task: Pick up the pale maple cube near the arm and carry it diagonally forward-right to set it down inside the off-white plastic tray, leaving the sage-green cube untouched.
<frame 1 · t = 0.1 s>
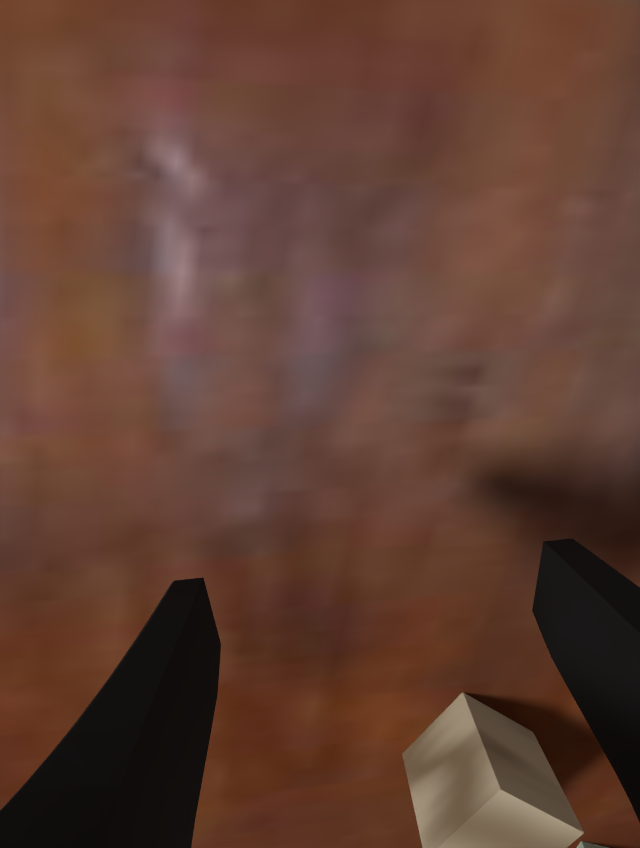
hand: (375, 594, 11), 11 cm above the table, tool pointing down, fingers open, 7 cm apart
maple cube: (467, 741, 27), on the table
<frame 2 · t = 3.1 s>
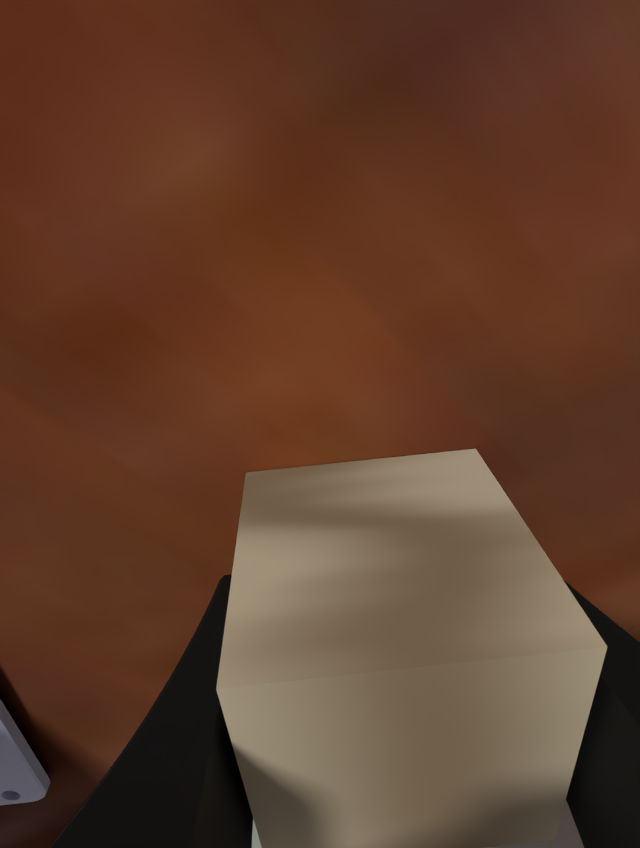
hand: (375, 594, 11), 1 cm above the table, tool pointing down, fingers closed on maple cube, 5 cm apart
maple cube: (365, 548, 12), on the table, touching gripper
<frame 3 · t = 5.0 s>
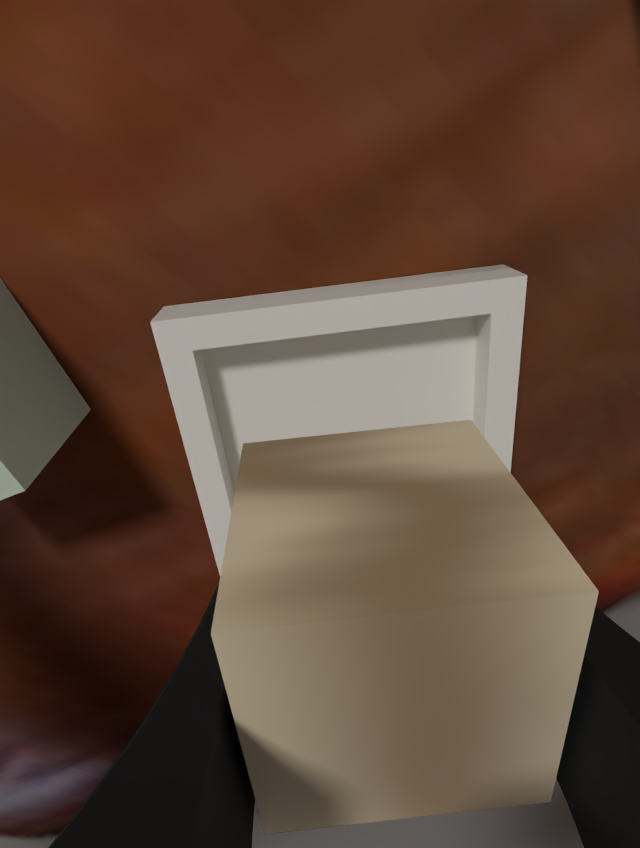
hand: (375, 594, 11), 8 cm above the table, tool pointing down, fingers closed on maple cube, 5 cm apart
tray: (347, 434, 18), on the table
maple cube: (362, 522, 12), point 7 cm above the table, touching gripper
when the fingers open (4 cm above the table, at t = 6.9 s): maple cube drops 1 cm, resting on tray.
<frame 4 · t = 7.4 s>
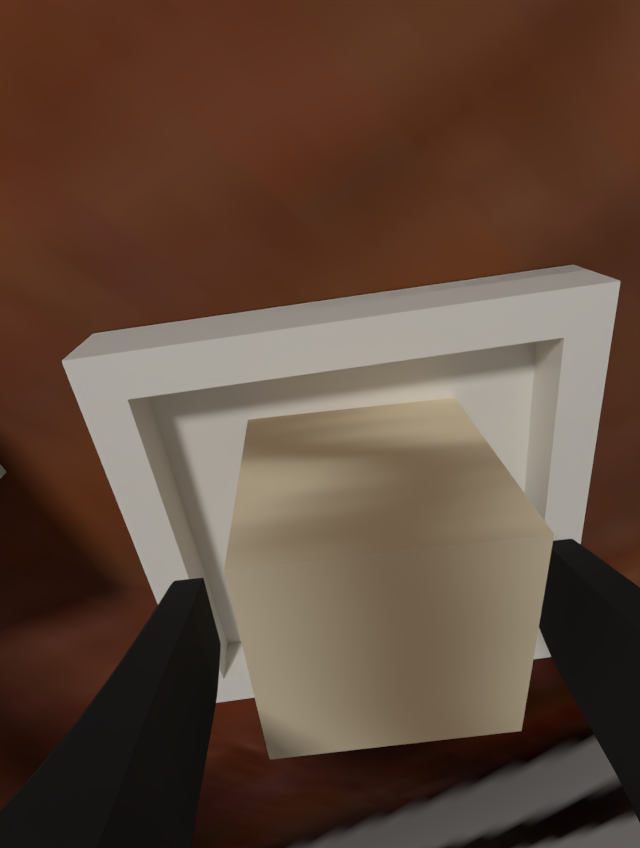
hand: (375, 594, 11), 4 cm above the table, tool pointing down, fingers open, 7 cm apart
tray: (355, 495, 14), on the table
maple cube: (357, 493, 13), point 1 cm above the table, touching tray
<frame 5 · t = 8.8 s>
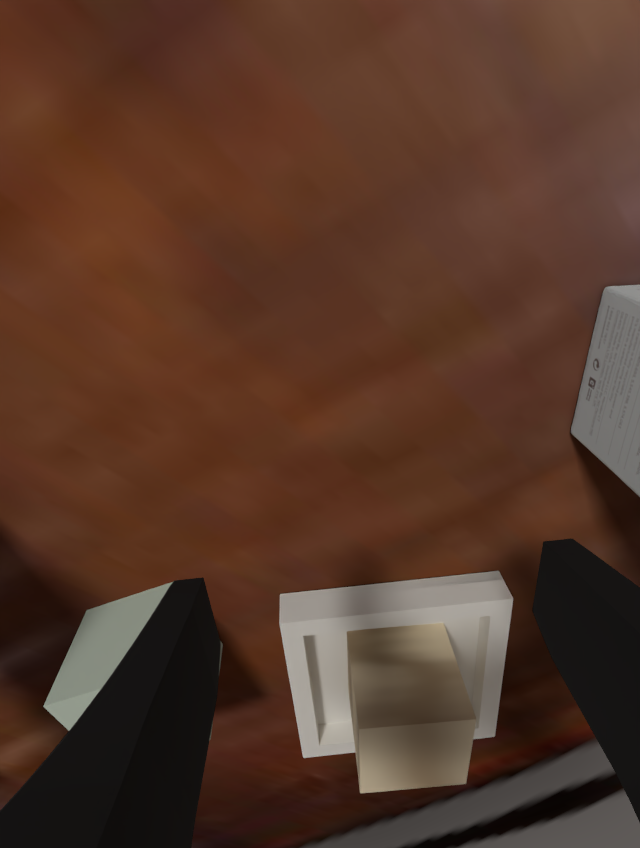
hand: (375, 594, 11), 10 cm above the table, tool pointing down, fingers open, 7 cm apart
sage cube: (157, 626, 25), on the table
tray: (391, 655, 27), on the table
maple cube: (394, 659, 26), point 1 cm above the table, touching tray
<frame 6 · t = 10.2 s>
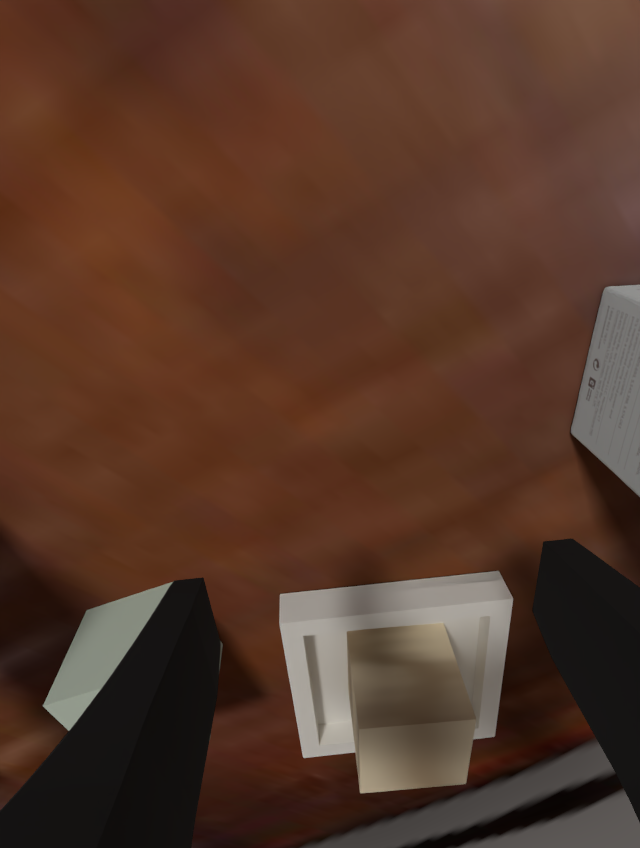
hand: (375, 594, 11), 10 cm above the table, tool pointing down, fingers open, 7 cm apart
sage cube: (157, 626, 25), on the table
tray: (391, 655, 27), on the table
maple cube: (394, 659, 26), point 1 cm above the table, touching tray
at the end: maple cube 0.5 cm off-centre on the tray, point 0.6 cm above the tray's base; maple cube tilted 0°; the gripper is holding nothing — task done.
